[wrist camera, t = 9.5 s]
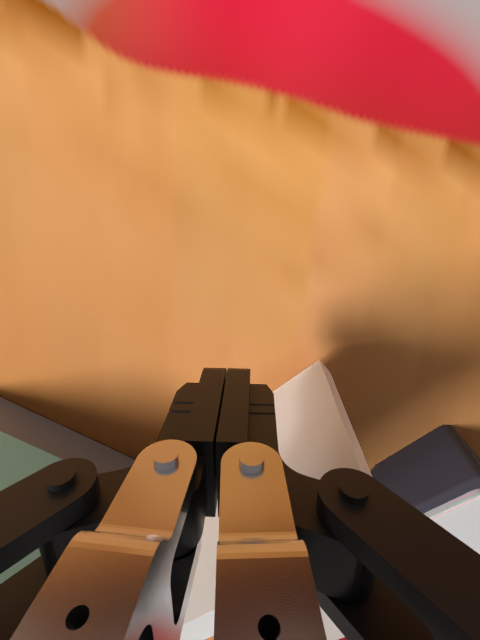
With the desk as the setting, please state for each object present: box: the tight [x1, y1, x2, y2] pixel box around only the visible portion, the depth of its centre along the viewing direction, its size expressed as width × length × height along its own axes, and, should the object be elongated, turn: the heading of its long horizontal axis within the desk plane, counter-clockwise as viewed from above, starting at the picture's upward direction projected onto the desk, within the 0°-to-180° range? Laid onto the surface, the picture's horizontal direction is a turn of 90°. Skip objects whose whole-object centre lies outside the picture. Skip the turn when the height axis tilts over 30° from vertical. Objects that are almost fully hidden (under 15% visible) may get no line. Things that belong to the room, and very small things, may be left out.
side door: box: [180, 360, 372, 640], centre depth 13 cm, size 9×2×8 cm, turn 130°
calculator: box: [320, 425, 480, 640], centre depth 19 cm, size 11×4×15 cm
